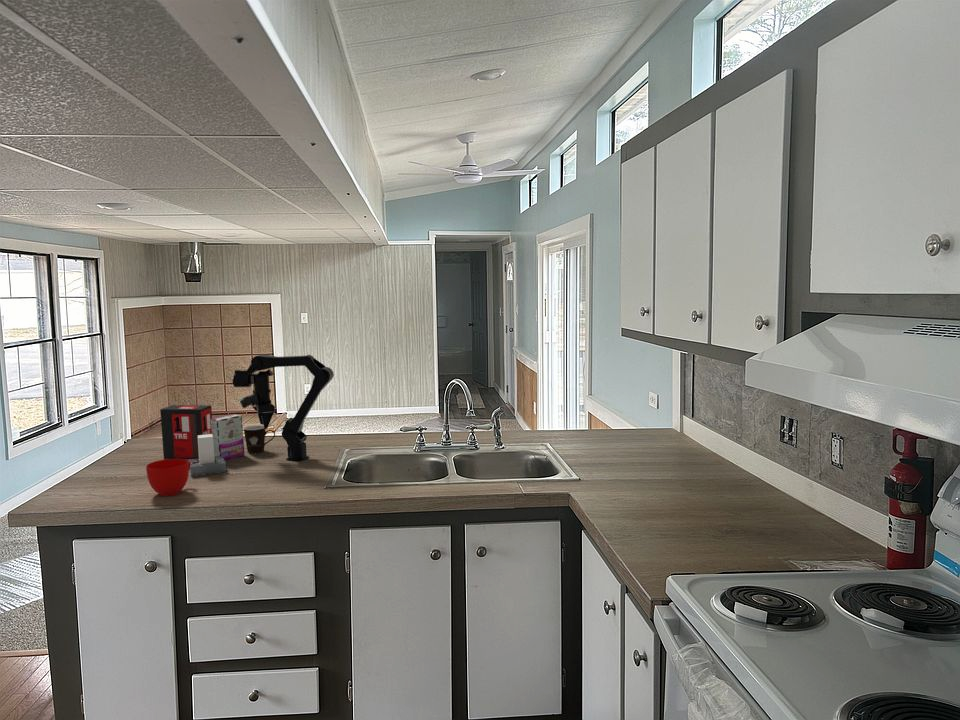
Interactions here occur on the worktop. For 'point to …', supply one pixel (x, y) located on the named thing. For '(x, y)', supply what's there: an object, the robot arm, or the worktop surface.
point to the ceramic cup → (168, 475)
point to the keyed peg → (206, 449)
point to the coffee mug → (256, 438)
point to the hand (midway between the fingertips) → (263, 426)
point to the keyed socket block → (207, 466)
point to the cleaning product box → (184, 429)
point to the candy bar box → (228, 436)
